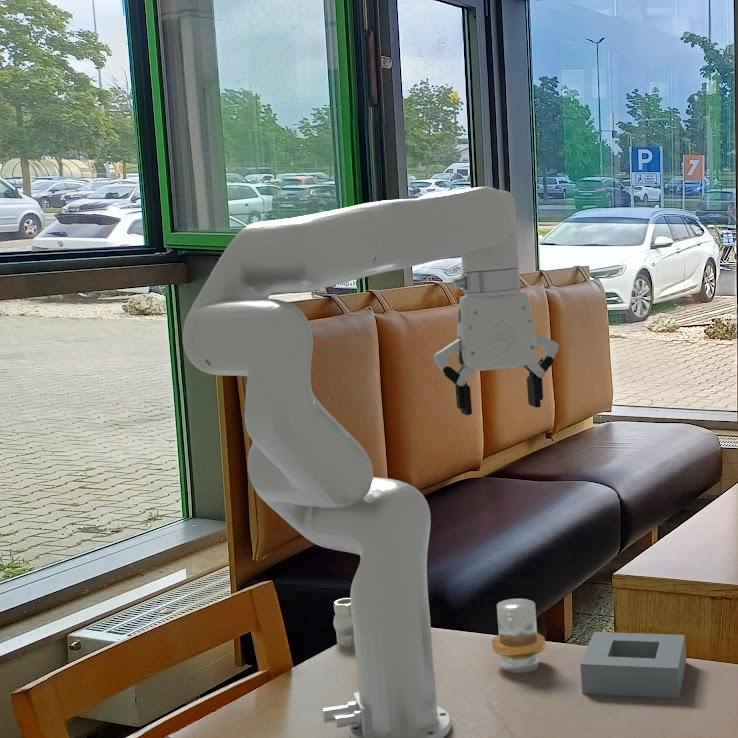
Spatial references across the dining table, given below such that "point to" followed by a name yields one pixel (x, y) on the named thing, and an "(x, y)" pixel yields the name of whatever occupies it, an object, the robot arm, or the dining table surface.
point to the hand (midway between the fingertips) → (500, 410)
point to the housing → (634, 664)
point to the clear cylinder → (518, 636)
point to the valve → (343, 622)
